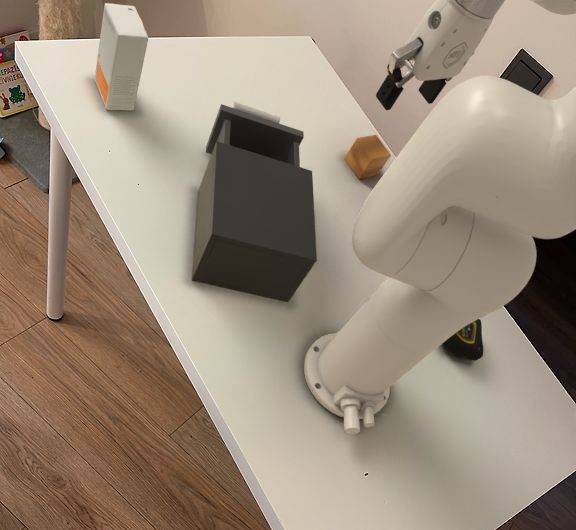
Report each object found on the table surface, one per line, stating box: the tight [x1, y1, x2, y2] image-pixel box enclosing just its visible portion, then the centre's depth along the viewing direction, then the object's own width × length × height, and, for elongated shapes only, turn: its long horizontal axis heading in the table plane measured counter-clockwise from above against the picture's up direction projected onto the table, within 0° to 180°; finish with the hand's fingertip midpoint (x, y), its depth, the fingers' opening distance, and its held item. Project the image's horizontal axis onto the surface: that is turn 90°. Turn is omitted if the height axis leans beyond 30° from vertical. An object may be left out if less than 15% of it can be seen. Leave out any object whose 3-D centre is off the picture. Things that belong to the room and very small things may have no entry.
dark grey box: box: [205, 101, 305, 167], centre depth 85 cm, size 19×12×8 cm, turn 1°
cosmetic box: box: [93, 2, 149, 111], centre depth 82 cm, size 6×4×12 cm
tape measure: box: [441, 318, 484, 362], centre depth 90 cm, size 7×7×4 cm
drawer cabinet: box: [191, 141, 318, 303], centre depth 80 cm, size 16×14×10 cm
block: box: [344, 134, 392, 180], centre depth 100 cm, size 5×5×5 cm
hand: (404, 100), depth 91 cm, fingers open, 9 cm apart
